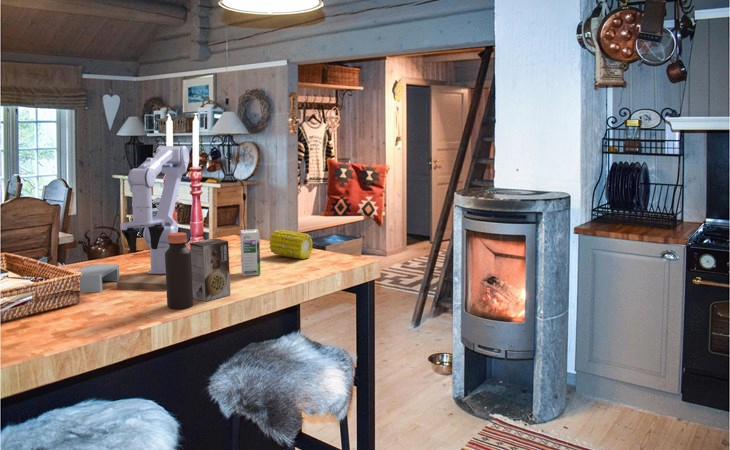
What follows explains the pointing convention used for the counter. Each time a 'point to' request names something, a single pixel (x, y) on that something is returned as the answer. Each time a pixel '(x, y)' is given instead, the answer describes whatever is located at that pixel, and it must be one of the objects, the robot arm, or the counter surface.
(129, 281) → the board
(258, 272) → the syrup box
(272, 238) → the food
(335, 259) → the counter surface
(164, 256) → the robot arm
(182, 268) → the bottle
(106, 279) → the shelf
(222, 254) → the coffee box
